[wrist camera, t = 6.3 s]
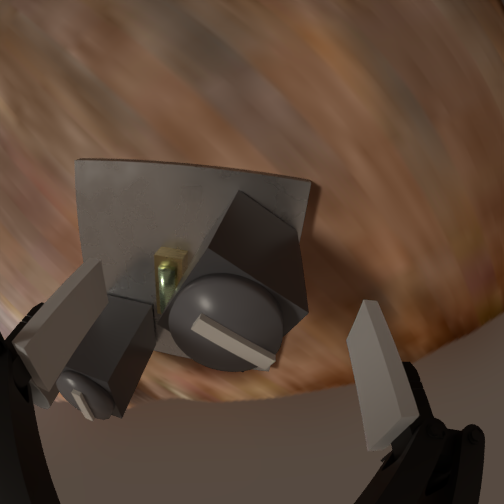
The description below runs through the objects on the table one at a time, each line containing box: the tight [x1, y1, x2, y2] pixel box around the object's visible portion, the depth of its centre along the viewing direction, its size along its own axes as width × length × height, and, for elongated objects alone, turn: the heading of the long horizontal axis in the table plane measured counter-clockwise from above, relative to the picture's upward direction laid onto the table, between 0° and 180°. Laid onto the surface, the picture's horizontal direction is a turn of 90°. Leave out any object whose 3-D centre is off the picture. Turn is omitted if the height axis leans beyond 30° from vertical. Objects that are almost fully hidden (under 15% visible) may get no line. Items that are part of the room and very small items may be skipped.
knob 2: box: [157, 190, 309, 372], centre depth 17 cm, size 5×5×11 cm
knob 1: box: [56, 295, 156, 421], centre depth 22 cm, size 5×5×11 cm
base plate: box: [75, 158, 311, 371], centre depth 25 cm, size 20×20×1 cm
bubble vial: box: [154, 246, 188, 314], centre depth 24 cm, size 6×2×3 cm, turn 173°
